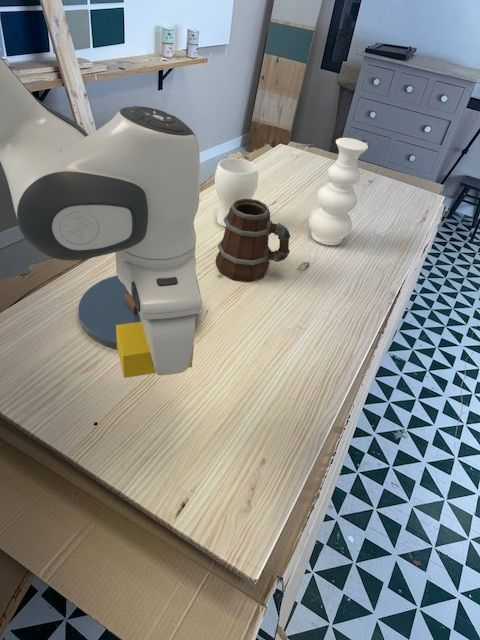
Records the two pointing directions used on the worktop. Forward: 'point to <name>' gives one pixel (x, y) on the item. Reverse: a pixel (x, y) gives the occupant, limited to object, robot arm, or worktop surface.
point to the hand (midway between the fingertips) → (154, 348)
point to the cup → (234, 183)
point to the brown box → (131, 303)
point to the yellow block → (135, 350)
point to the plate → (106, 311)
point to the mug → (249, 241)
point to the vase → (337, 195)
